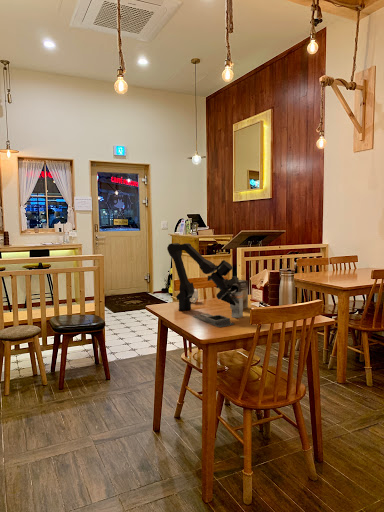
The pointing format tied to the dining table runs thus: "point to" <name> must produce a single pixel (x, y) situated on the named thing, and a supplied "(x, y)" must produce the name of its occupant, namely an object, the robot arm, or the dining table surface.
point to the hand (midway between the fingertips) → (238, 303)
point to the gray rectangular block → (237, 305)
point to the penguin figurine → (194, 296)
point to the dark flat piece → (215, 320)
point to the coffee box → (244, 289)
